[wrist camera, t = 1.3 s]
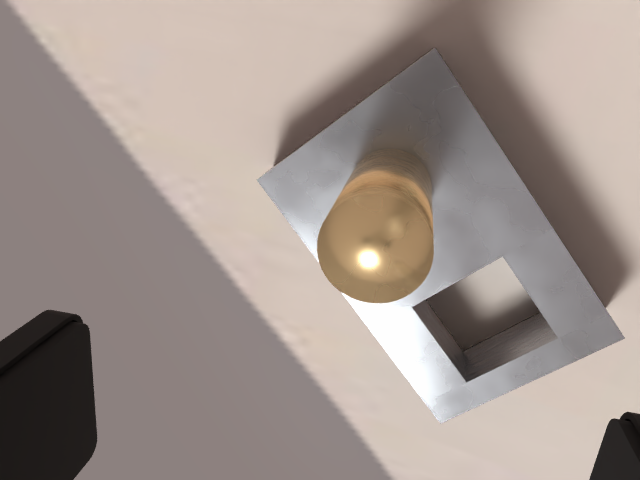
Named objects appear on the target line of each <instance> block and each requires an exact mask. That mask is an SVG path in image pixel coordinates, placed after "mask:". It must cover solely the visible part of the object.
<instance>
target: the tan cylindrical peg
mask: <svg viewBox="0 0 640 480" xmlns="http://www.w3.org/2000/svg"><path fill="white" fill-rule="evenodd" d="M317 255H318V259H319V263H320V266H321V268H322V270H323V272H324V274H325V276H326V277H327V279H328V280H329V281H330V282H331V283H332V285H333V286H334V287H335V288H337V289H338V290H339V291H340V292H342V293H343V294H345V295H347V296H349V297H351V298H353V299H355V300H358V301H362V302H366V303H374V304H379V303H389V302H393V301H397V300H399V299H402V298H404V297H406V296H408V295H409V294H411V293H412V292H414V291H415V290H416V289H417V288H418V287H419V286H420V285H421V284H422V283H423V281H424V280H425V279H426V277H427V275H428V274H429V271H430V269H431V266H432V262H433V257H434V238H433V208H432V183H431V178H430V175H429V173H428V171H427V169H426V167H425V166H424V164H423V163H422V162H421V161H420V160H419V159H418V158H417V157H415V156H414V155H412V154H410V153H408V152H406V151H403V150H399V149H381V150H378V151H375V152H372V153H370V154H369V155H367V156H366V157H364V158H363V159H362V160H361V161H360V162H359V163H358V164H357V166H356V167H355V169H354V170H353V172H352V174H351V175H350V177H349V179H348V181H347V182H346V184H345V186H344V187H343V189H342V191H341V193H340V194H339V196H338V198H337V199H336V201H335V203H334V205H333V206H332V208H331V210H330V211H329V213H328V215H327V217H326V218H325V220H324V222H323V224H322V226H321V228H320V231H319V234H318V239H317Z"/></svg>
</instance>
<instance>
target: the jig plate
mask: <svg viewBox="0 0 640 480" xmlns="http://www.w3.org/2000/svg"><path fill="white" fill-rule="evenodd" d="M381 149H399V150H403V151H406V152H408V153H410V154H412V155H414V156H415V157H417V158H418V159H419V160H420V161H421V162H422V163H423V164H424V166H425V167H426V169H427V171H428V173H429V175H430V178H431V183H432V208H433V238H434V257H433V262H432V266H431V269H430V271H429V274H428V275H427V277H426V279H425V280H424V281H423V283H422V284H421V285H420V286H419V287H418V288H417V289H416V290H415V291H414V292H412V293H411V294H409V295H408V296H406V297H404V298H402V299H399V300H397V301H393V302H389V303H379V304H374V303H366V302H362V301H358V300H355V299H353V298H351V297H349V296H347V295H345V294H343V293H342V294H343V295H344V296H345V298H346V299H347V300H348V302H349V303H350V304H351V306H352V307H353V308H354V310H355V311H356V312H357V314H358V315H359V316H360V318H361V319H362V320H363V322H364V323H365V324H366V326H367V327H368V328H369V330H370V331H371V332H372V333H373V335H374V336H375V337H376V339H377V340H378V341H379V343H380V344H381V345H382V347H383V348H384V349H385V351H386V352H387V353H388V355H389V356H390V357H391V359H392V360H393V361H394V363H395V364H396V365H397V367H398V368H399V369H400V371H401V372H402V373H403V375H404V376H405V377H406V379H407V380H408V381H409V383H410V384H411V385H412V386H413V388H414V389H415V390H416V392H417V393H418V394H419V396H420V397H421V398H422V400H423V401H424V402H425V404H426V405H427V406H428V408H429V409H430V410H431V412H432V413H433V414H434V416H435V417H436V418H437V420H438V421H439V422H440V424H441V423H443V422H445V421H447V420H449V419H452V418H454V417H456V416H458V415H460V414H462V413H465V412H467V411H469V410H471V409H473V408H475V407H478V406H480V405H482V404H484V403H486V402H488V401H491V400H493V399H495V398H497V397H499V396H501V395H504V394H506V393H508V392H510V391H512V390H514V389H517V388H519V387H521V386H523V385H525V384H527V383H529V382H532V381H534V380H536V379H538V378H540V377H542V376H545V375H547V374H549V373H551V372H553V371H555V370H558V369H560V368H562V367H564V366H566V365H568V364H571V363H573V362H575V361H577V360H579V359H581V358H584V357H586V356H588V355H590V354H592V353H594V352H596V351H599V350H601V349H603V348H605V347H607V346H609V345H612V344H614V343H616V342H618V341H620V340H622V339H625V338H624V336H623V335H622V333H621V332H620V330H619V328H618V327H617V325H616V324H615V322H614V321H613V319H612V318H611V316H610V315H609V313H608V312H607V310H606V309H605V307H604V305H603V304H602V302H601V301H600V299H599V298H598V296H597V295H596V293H595V292H594V290H593V289H592V287H591V286H590V284H589V283H588V281H587V279H586V278H585V276H584V275H583V273H582V272H581V270H580V269H579V267H578V266H577V264H576V263H575V261H574V260H573V258H572V256H571V255H570V253H569V252H568V250H567V249H566V247H565V246H564V244H563V243H562V241H561V240H560V238H559V237H558V235H557V233H556V232H555V230H554V229H553V227H552V226H551V224H550V223H549V221H548V220H547V218H546V217H545V215H544V214H543V212H542V210H541V209H540V207H539V206H538V204H537V203H536V201H535V200H534V198H533V197H532V195H531V194H530V192H529V191H528V189H527V187H526V186H525V184H524V183H523V181H522V180H521V178H520V177H519V175H518V174H517V172H516V171H515V169H514V168H513V166H512V164H511V163H510V161H509V160H508V158H507V157H506V155H505V154H504V152H503V151H502V149H501V148H500V146H499V145H498V143H497V141H496V140H495V138H494V137H493V135H492V134H491V132H490V131H489V129H488V128H487V126H486V125H485V123H484V122H483V120H482V118H481V117H480V115H479V114H478V112H477V111H476V109H475V108H474V106H473V105H472V103H471V102H470V100H469V99H468V97H467V95H466V94H465V92H464V91H463V89H462V88H461V86H460V85H459V83H458V82H457V80H456V79H455V77H454V76H453V74H452V72H451V71H450V69H449V68H448V66H447V65H446V63H445V62H444V60H443V59H442V57H441V56H440V54H439V53H438V51H437V50H436V48H435V47H434V48H433V49H432V50H430V51H429V52H428V53H426V54H425V55H424V56H422V57H421V58H419V59H418V60H417V61H415V62H414V63H413V64H411V65H410V66H409V67H407V68H406V69H405V70H403V71H402V72H401V73H399V74H398V75H397V76H395V77H394V78H392V79H391V80H390V81H388V82H387V83H386V84H384V85H383V86H382V87H380V88H379V89H378V90H376V91H375V92H374V93H372V94H371V95H370V96H368V97H367V98H366V99H364V100H363V101H361V102H360V103H359V104H357V105H356V106H355V107H353V108H352V109H351V110H349V111H348V112H347V113H345V114H344V115H343V116H341V117H340V118H339V119H337V120H336V121H334V122H333V123H332V124H330V125H329V126H328V127H326V128H325V129H324V130H322V131H321V132H320V133H318V134H317V135H316V136H314V137H313V138H312V139H310V140H309V141H307V142H306V143H305V144H303V145H302V146H301V147H299V148H298V149H297V150H295V151H294V152H293V153H291V154H290V155H289V156H287V157H286V158H285V159H283V160H282V161H281V162H279V163H278V164H276V165H275V166H274V167H272V168H271V169H270V170H269V171H267V172H266V173H265V174H264V175H262V176H261V177H260V178H259V179H257V181H258V182H259V184H260V185H261V186H262V188H263V189H264V190H265V192H266V193H267V194H268V196H269V197H270V198H271V200H272V201H273V202H274V204H275V205H276V206H277V208H278V209H279V210H280V212H281V213H282V214H283V216H284V217H285V218H286V220H287V221H288V222H289V223H290V225H291V226H292V227H293V229H294V230H295V231H296V233H297V234H298V235H299V237H300V238H301V239H302V241H303V242H304V243H305V245H306V246H307V247H308V249H309V250H310V251H311V253H312V254H313V255H314V257H315V258H316V259H317V261H318V262H319V259H318V255H317V239H318V234H319V231H320V228H321V226H322V224H323V222H324V220H325V218H326V217H327V215H328V213H329V211H330V210H331V208H332V206H333V205H334V203H335V201H336V199H337V198H338V196H339V194H340V193H341V191H342V189H343V187H344V186H345V184H346V182H347V181H348V179H349V177H350V175H351V174H352V172H353V170H354V169H355V167H356V166H357V164H358V163H359V162H360V161H361V160H362V159H363V158H364V157H366V156H367V155H369V154H370V153H372V152H375V151H378V150H381ZM502 256H503V258H504V259H505V261H506V262H507V263H508V265H509V266H510V268H511V269H512V271H513V272H514V274H515V275H516V277H517V278H518V280H519V281H520V283H521V284H522V286H523V287H524V288H525V290H526V291H527V293H528V294H529V296H530V297H531V299H532V300H533V302H534V303H535V305H536V306H537V308H538V309H539V311H540V313H538V314H536V315H534V316H532V317H530V318H528V319H526V320H524V321H523V322H521V323H519V324H517V325H515V326H513V327H511V328H509V329H507V330H505V331H503V332H501V333H499V334H497V335H495V336H493V337H491V338H489V339H487V340H485V341H483V342H481V343H479V344H477V345H475V346H473V347H471V348H469V349H467V350H465V351H462V350H461V348H460V347H459V346H458V344H457V343H456V341H455V340H454V339H453V337H452V336H451V335H450V333H449V332H448V330H447V329H446V328H445V326H444V325H443V323H442V322H441V321H440V319H439V318H438V317H437V315H436V314H435V312H434V311H433V310H432V308H431V307H430V305H429V304H428V303H427V301H426V300H425V299H427V298H429V297H431V296H433V295H434V294H436V293H438V292H440V291H442V290H443V289H445V288H447V287H449V286H450V285H452V284H454V283H456V282H458V281H459V280H461V279H463V278H465V277H467V276H468V275H470V274H472V273H474V272H475V271H477V270H479V269H481V268H483V267H484V266H486V265H488V264H490V263H492V262H493V261H495V260H497V259H499V258H501V257H502Z"/></svg>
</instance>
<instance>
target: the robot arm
mask: <svg viewBox="0 0 640 480" xmlns="http://www.w3.org/2000/svg"><path fill="white" fill-rule="evenodd" d="M93 387H94V386H93V372H92V358H91V343H90V331H89V328H88V326H87V325H86V324H83V321H82V319H81V317H80V316H78V315H76V314H70V313H65V312H60V311H54V310H46V311H44V312H42V313H41V314H39V315H38V316H36V317H35V318H33V319H32V320H31V321H29V322H28V323H26V324H25V325H23V326H22V327H20V328H19V329H18V330H16V331H15V332H13V333H12V334H10V335H9V336H7V337H6V338H5V339H3V340H2V341H0V480H73V479H74V478H75V477H76V476H77V474H78V473H79V472H80V471H81V469H82V468H83V467H84V466H85V465H86V463H87V462H88V461H89V460H90V458H91V457H92V455H93V453H94V450H95V447H96V443H97V429H96V415H95V401H94V388H93ZM589 480H640V414H637V413H631V412H626V413H624V414H623V415H622V416H621V418H620V419H611V420H610V422H609V424H608V426H607V429H606V432H605V435H604V438H603V441H602V443H601V446H600V449H599V452H598V455H597V458H596V461H595V464H594V467H593V470H592V473H591V476H590V479H589Z"/></svg>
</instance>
